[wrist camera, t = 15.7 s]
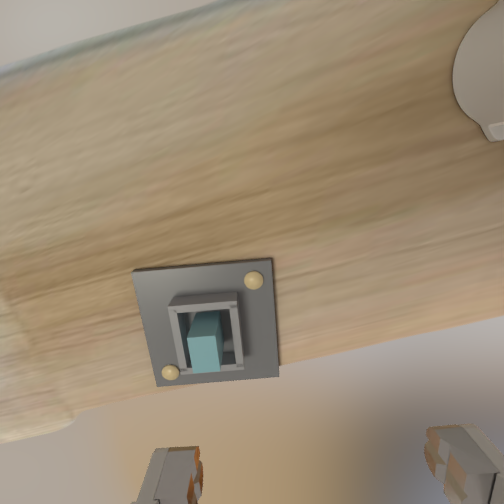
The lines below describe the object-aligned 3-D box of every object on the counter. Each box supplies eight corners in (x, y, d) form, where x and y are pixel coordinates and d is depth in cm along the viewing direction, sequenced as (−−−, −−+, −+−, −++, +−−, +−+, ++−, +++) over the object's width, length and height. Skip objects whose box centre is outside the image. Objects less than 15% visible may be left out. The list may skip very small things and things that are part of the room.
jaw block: (220, 310, 45) (215, 335, 38) (224, 342, 46) (220, 371, 40) (195, 312, 45) (186, 338, 38) (201, 344, 46) (193, 373, 40)
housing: (270, 258, 44) (273, 267, 39) (278, 371, 50) (281, 390, 46) (134, 269, 44) (122, 280, 40) (159, 381, 50) (151, 401, 46)
